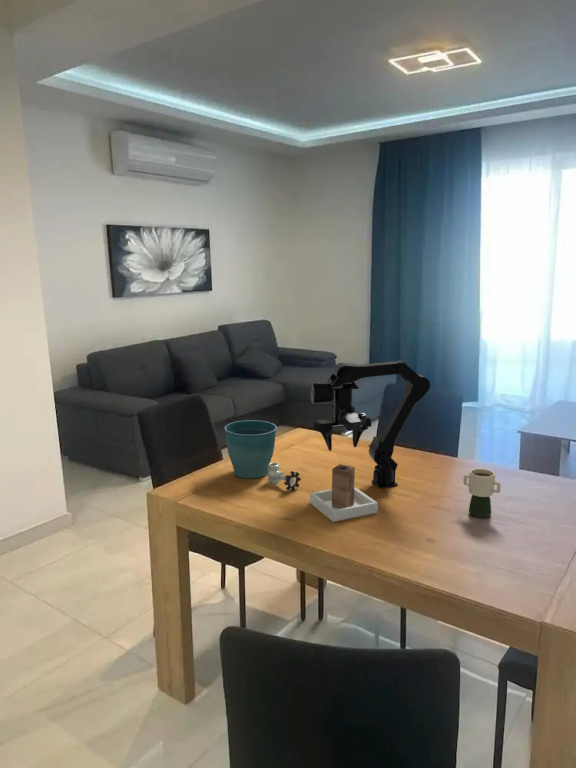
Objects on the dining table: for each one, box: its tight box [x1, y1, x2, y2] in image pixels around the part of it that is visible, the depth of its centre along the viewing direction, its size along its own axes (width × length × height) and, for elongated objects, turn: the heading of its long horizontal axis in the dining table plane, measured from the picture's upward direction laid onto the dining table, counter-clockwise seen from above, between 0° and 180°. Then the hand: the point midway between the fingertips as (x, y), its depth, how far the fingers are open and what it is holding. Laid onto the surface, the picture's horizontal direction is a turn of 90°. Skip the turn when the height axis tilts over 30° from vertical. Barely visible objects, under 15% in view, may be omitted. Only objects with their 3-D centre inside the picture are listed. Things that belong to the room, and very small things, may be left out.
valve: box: [266, 462, 302, 492], centre depth 192 cm, size 7×7×12 cm
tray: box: [309, 486, 379, 523], centre depth 175 cm, size 15×15×3 cm
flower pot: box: [224, 419, 278, 479], centre depth 203 cm, size 18×18×17 cm
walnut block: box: [331, 463, 356, 509], centre depth 174 cm, size 5×5×12 cm
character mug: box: [463, 468, 501, 518], centre depth 169 cm, size 11×7×13 cm, turn 50°
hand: (342, 448), depth 189 cm, fingers open, 9 cm apart
